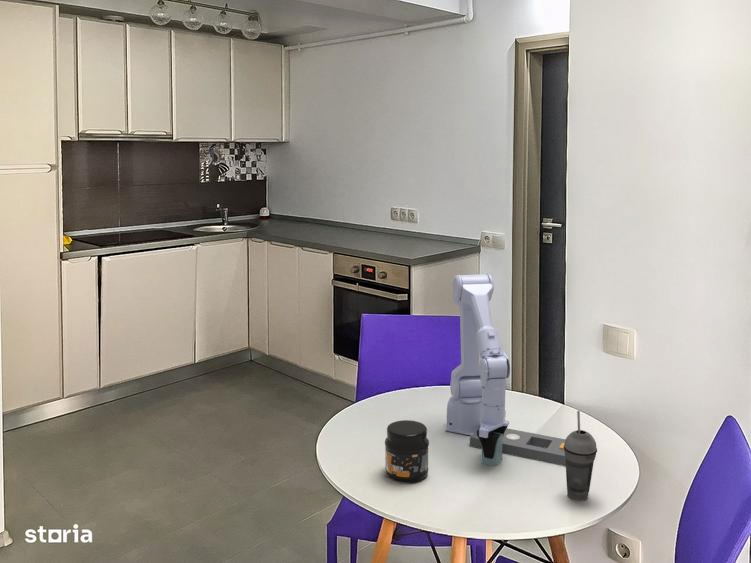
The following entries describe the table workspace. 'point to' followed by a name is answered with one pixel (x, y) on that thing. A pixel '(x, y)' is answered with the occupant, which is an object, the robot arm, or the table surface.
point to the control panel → (529, 446)
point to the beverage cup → (579, 462)
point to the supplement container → (406, 451)
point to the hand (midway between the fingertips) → (491, 454)
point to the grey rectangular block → (497, 455)
